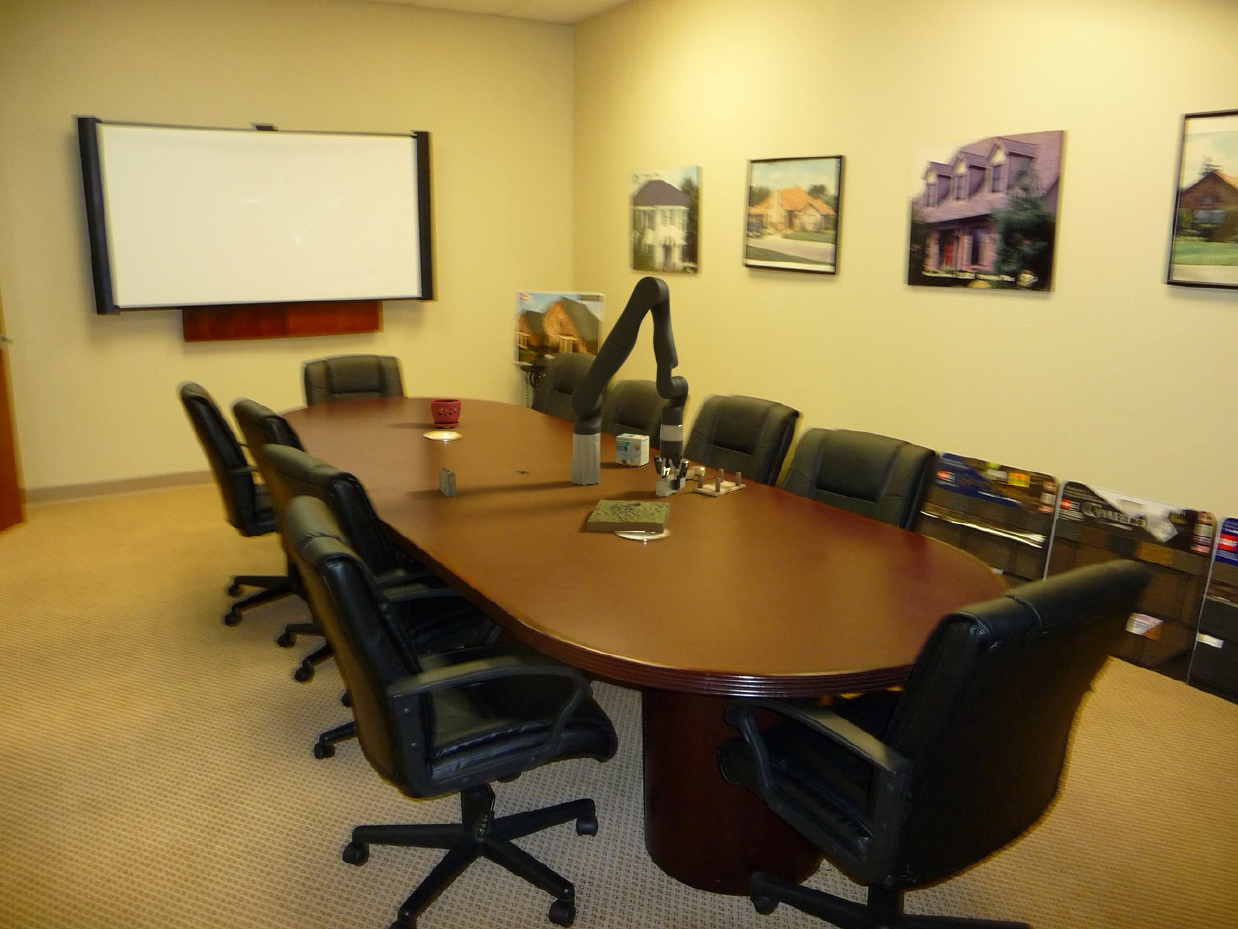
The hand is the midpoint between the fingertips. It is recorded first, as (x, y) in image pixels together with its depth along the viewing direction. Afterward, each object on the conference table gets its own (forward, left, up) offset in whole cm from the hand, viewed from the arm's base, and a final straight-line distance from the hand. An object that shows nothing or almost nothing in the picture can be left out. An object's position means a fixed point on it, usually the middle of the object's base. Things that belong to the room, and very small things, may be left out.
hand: (670, 488), depth 320 cm
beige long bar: (+16, +7, -1) cm, 18 cm away
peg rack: (+13, -10, -1) cm, 16 cm away
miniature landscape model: (-35, -14, -2) cm, 38 cm away
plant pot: (+21, +148, -1) cm, 149 cm away
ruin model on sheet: (-52, +51, -2) cm, 73 cm away
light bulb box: (+22, +37, -1) cm, 43 cm away
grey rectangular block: (0, 0, -1) cm, 1 cm away
